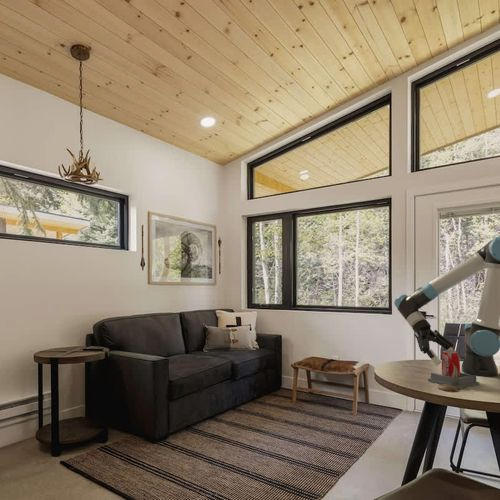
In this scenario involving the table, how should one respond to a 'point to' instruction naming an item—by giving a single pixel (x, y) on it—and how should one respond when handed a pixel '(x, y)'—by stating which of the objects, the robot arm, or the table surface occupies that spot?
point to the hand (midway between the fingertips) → (449, 362)
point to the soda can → (450, 363)
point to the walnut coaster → (447, 387)
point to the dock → (455, 380)
